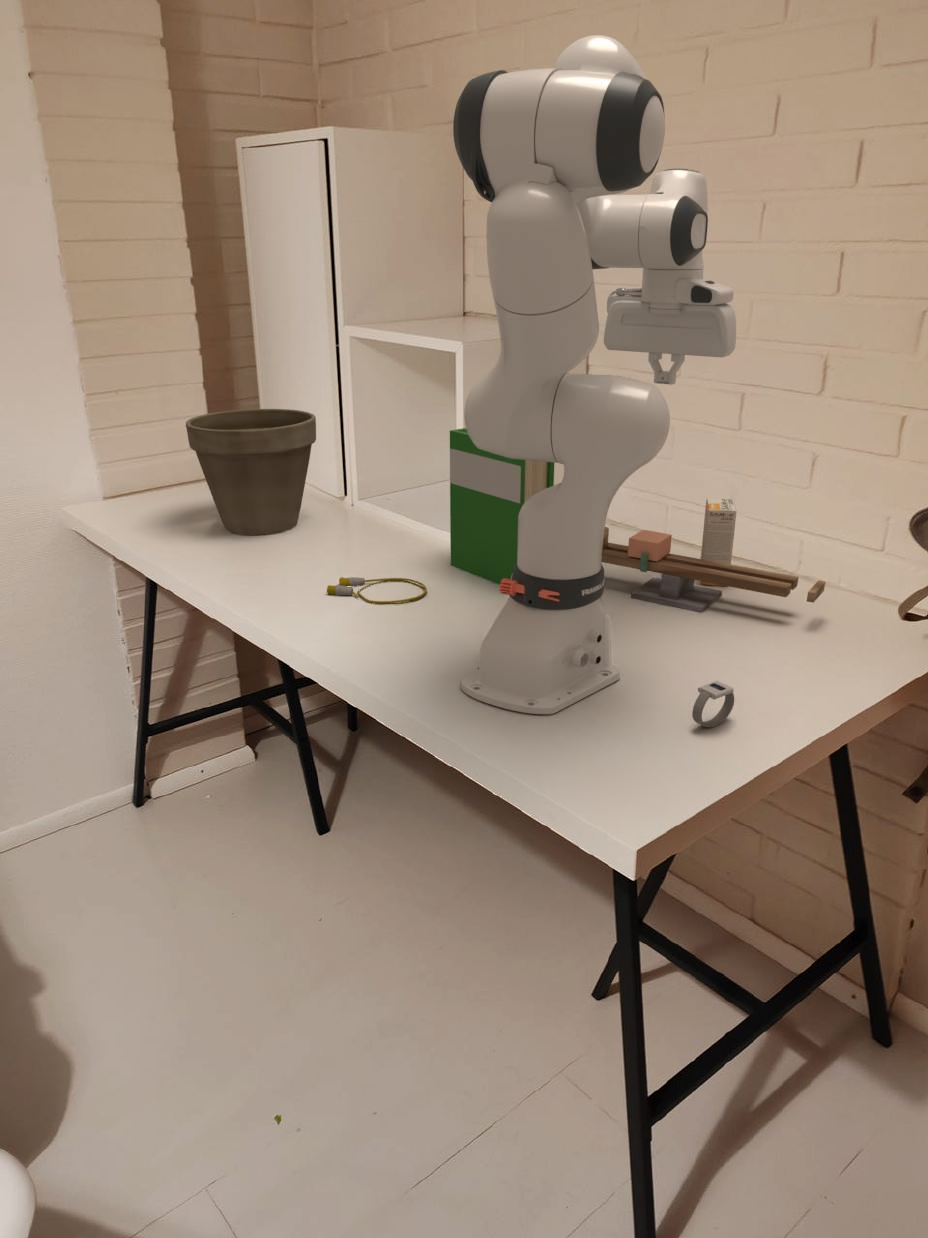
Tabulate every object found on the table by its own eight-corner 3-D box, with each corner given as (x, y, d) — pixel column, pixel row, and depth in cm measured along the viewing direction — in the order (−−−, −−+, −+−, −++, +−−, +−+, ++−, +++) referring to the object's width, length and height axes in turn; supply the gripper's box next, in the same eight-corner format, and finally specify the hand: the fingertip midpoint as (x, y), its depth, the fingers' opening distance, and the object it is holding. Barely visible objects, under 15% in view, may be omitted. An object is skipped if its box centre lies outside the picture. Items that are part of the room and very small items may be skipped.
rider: (656, 570, 154) (658, 543, 152) (627, 565, 156) (628, 538, 154) (669, 561, 158) (671, 534, 156) (641, 556, 160) (643, 529, 159)
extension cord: (365, 575, 168) (364, 564, 167) (440, 591, 160) (440, 580, 159) (319, 596, 158) (319, 584, 157) (397, 614, 150) (397, 602, 149)
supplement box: (729, 587, 160) (737, 511, 155) (700, 585, 161) (707, 509, 156) (727, 571, 168) (735, 498, 163) (698, 569, 169) (705, 496, 164)
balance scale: (806, 634, 141) (814, 576, 138) (544, 579, 164) (545, 528, 160) (822, 615, 148) (830, 559, 145) (568, 565, 171) (570, 516, 167)
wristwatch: (703, 736, 113) (707, 698, 111) (685, 727, 115) (689, 690, 113) (737, 722, 116) (742, 684, 114) (719, 713, 118) (723, 676, 117)
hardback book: (550, 582, 163) (555, 440, 154) (518, 592, 158) (521, 447, 149) (482, 557, 175) (482, 425, 166) (450, 565, 171) (449, 430, 162)
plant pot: (187, 516, 200) (175, 411, 192) (302, 503, 210) (295, 403, 202) (211, 550, 179) (198, 434, 171) (337, 533, 189) (331, 423, 181)
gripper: (599, 288, 147) (594, 380, 152) (730, 292, 136) (720, 391, 141) (616, 286, 152) (611, 376, 157) (744, 290, 141) (734, 386, 146)
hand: (664, 383), depth 149 cm, fingers closed
